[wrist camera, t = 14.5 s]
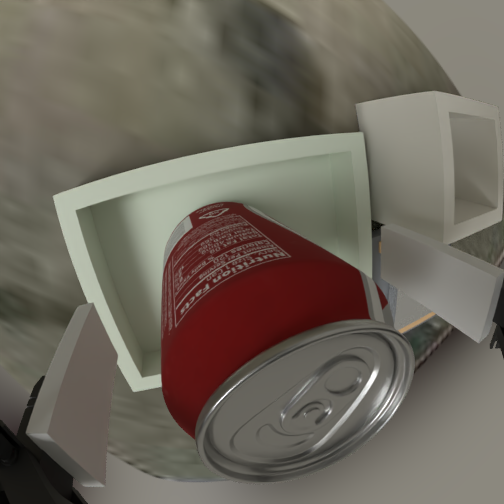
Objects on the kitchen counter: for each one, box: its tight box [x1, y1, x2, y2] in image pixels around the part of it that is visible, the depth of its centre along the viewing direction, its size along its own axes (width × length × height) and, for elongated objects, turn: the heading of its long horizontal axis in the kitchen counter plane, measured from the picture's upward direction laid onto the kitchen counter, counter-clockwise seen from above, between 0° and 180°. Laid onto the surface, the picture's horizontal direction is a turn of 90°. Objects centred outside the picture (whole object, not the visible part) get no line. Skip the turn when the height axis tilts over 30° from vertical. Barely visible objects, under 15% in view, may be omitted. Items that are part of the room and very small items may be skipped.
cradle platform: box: [388, 284, 432, 330], centre depth 20 cm, size 6×6×1 cm
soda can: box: [161, 201, 415, 484], centre depth 11 cm, size 7×7×12 cm
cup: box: [355, 91, 503, 245], centre depth 15 cm, size 8×8×7 cm
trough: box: [53, 132, 372, 392], centre depth 16 cm, size 12×16×3 cm
